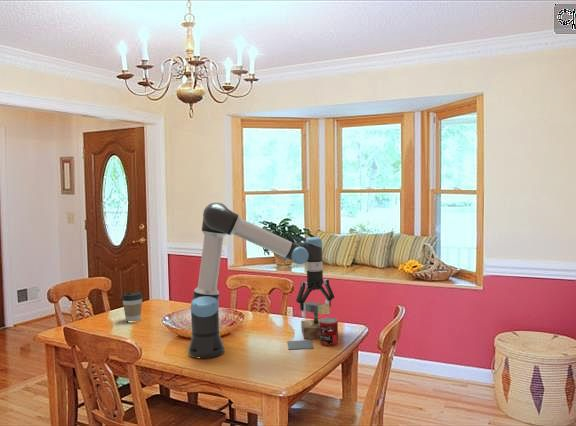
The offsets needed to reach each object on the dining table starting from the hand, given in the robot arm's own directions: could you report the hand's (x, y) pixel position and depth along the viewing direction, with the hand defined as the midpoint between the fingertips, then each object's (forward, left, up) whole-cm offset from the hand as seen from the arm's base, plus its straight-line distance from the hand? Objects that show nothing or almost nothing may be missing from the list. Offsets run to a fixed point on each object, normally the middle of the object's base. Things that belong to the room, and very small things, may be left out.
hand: (315, 315), depth 239 cm
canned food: (+4, -15, -9) cm, 18 cm away
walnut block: (0, 0, -9) cm, 9 cm away
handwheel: (0, 0, -4) cm, 4 cm away
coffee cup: (-95, +39, -9) cm, 103 cm away
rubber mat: (-9, -15, -9) cm, 20 cm away
